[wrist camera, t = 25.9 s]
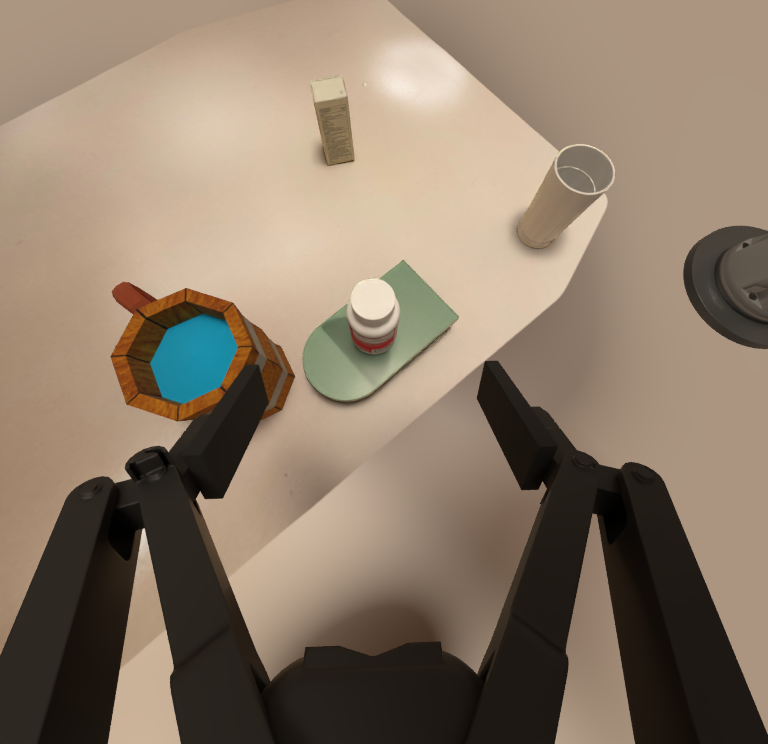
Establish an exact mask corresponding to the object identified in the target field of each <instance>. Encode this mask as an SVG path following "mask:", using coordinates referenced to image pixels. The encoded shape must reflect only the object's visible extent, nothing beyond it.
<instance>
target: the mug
mask: <svg viewBox="0 0 768 744" xmlns="http://www.w3.org/2000/svg"><path fill="white" fill-rule="evenodd" d="M112 294H113V297H114V298H115V300H116V301H117V302H118V303H119V304H120V305H122V306H123V307H124V308H125V309H127V310H128V311H129V312H131V313H132V314H133V316H132V318H131V320H130V322H129V323H128V325H127V327H126V329H125V331H124V333H123V335H122V336H121V338H120V340H119V342H118V344H117V346H116V347H115V349H114V351H113V353H112V355H111V360H112V363H113V366H114V369H115V371H116V374H117V377H118V380H119V383H120V386H121V389H122V392H123V395H124V398H125V401H126V404H127V405H130V406H133V407H136V408H139V409H142V410H145V411H148V412H151V413H154V414H157V415H160V416H163V417H166V418H169V419H172V420H175V421H186V420H195V419H196V418H197V417H199V416H200V415H202V414H211V412H212V411H213V409H214V408H215V406H216V405H217V404H218V402H219V401H220V399H221V398H222V397H223V395H224V394H225V392H226V391H227V390H228V388H229V387H230V385H231V384H232V383H233V381H234V380H235V378H236V377H237V376H238V374H239V373H240V371H241V370H242V369H243V367H244V366H245V365H259V367H260V371H261V375H262V378H263V382H264V386H265V389H266V393H267V397H268V400H269V403H268V405H267V407H266V409H265V411H264V414H263V416H262V418H261V420H262V419H264V418H266V417H268V416H270V415H272V414H274V413H276V412H278V411H280V410H282V408H283V406H284V403H285V401H286V398H287V396H288V393H289V390H290V388H291V385H292V383H293V380H294V378H295V376H294V373H293V371H292V369H291V367H290V365H289V363H288V360H287V358H286V356H285V354H284V352H283V350H282V348H281V347H280V346H279V345H277V344H275V343H273V342H272V341H271V340H270V339H269V338H268V337H267V336H266V334H265V333H264V332H263V330H262V329H260V328H259V327H257V326H256V325H254V324H252V323H251V322H250V321H249V320H247V319H246V318H245V317H244V316H243V315H242V314H241V313H240V311H239V310H238V309H237V307H236V306H235V305H234V303H232V302H229V301H226V300H223V299H219V298H216V297H213V296H210V295H207V294H203V293H200V292H197V291H194V290H191V289H187V288H185V289H183V290H181V291H178V292H176V293H173V294H171V295H169V296H166V297H164V298H162V299H159V300H157V299H155V298H154V297H152V296H151V295H149V294H148V293H146V292H145V291H143V290H141V289H140V288H138V287H136V286H134V285H132V284H131V283H129V282H122V283H121V284H119V285H117V286H116V287H115V288H114V290H113V291H112Z"/></svg>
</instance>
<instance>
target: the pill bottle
mask: <svg viewBox="0 0 768 744" xmlns="http://www.w3.org/2000/svg"><path fill="white" fill-rule="evenodd" d="M346 313H347V320H348V323H349V327H350V331H351V335H352V338H353V341H354V343H355V345H356V346H357V347H358V348H359V349H360V350H361V351H363V352H365V353H367V354H373V355H375V354H381V353H383V352H385V351H387V350H388V349H389V348H390V347H391V346H392V345H393V343H394V341H395V339H396V334H397V329H398V323H399V318H400V306H399V303H398V301H397V299H396V297H395V294H394V291H393V289H392V288H391V286H390V285H389V284H388V283H386V282H385V281H383V280H380V279H376V278H370V279H366V280H363V281H361V282H360V283H358V284H357V285H356V286H355V287H354V289H353V291H352V293H351V298H350V300H349V302H348V304H347V310H346Z"/></svg>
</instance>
